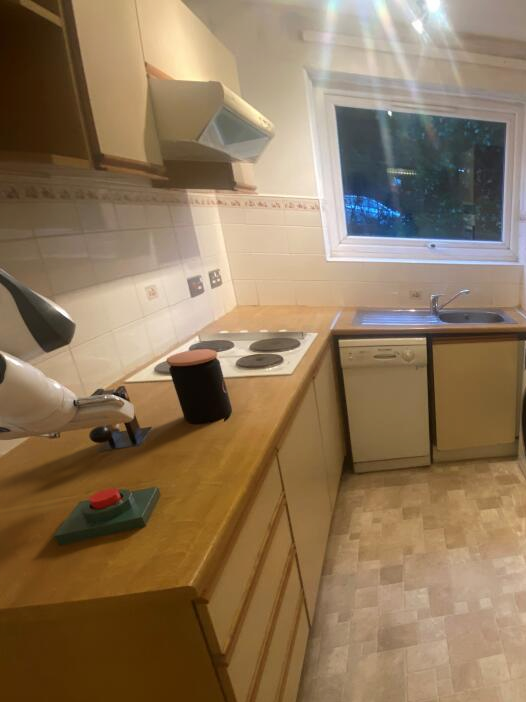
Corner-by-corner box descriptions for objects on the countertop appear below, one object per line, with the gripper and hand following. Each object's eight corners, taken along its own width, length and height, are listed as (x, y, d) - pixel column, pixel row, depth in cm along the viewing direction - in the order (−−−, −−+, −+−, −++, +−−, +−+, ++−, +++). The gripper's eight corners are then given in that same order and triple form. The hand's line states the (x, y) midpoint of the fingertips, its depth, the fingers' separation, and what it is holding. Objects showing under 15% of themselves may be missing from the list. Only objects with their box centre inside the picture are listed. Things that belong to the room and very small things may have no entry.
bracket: (141, 449, 102) (121, 396, 97) (98, 456, 99) (75, 402, 94) (153, 430, 111) (136, 380, 105) (114, 436, 108) (94, 385, 102)
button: (88, 512, 76) (84, 504, 75) (97, 499, 79) (94, 491, 79) (117, 506, 78) (113, 498, 77) (124, 493, 81) (121, 485, 80)
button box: (58, 546, 73) (49, 527, 72) (83, 510, 82) (75, 493, 80) (145, 526, 78) (138, 508, 76) (161, 495, 86) (154, 478, 85)
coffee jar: (240, 416, 118) (224, 354, 111) (197, 432, 110) (176, 365, 103) (222, 406, 124) (205, 346, 117) (179, 420, 116) (158, 357, 109)
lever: (113, 444, 95) (105, 434, 92) (92, 447, 93) (83, 437, 91) (124, 397, 103) (117, 387, 101) (105, 399, 102) (98, 389, 99)
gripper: (115, 381, 81) (148, 407, 93) (-36, 399, 74) (21, 425, 86) (115, 412, 79) (148, 434, 91) (-40, 433, 72) (18, 455, 84)
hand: (85, 430), depth 89 cm, fingers open, 8 cm apart
